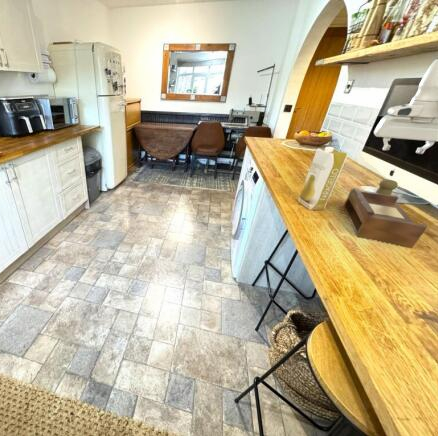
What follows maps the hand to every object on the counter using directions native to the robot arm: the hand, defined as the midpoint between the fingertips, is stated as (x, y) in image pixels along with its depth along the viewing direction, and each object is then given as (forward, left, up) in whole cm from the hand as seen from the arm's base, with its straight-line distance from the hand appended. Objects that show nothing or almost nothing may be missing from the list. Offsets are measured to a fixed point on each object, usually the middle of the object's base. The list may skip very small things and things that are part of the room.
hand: (401, 151), depth 87 cm
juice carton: (+23, +11, -23) cm, 34 cm away
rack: (+4, +18, -23) cm, 29 cm away
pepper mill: (-2, -2, -23) cm, 23 cm away
